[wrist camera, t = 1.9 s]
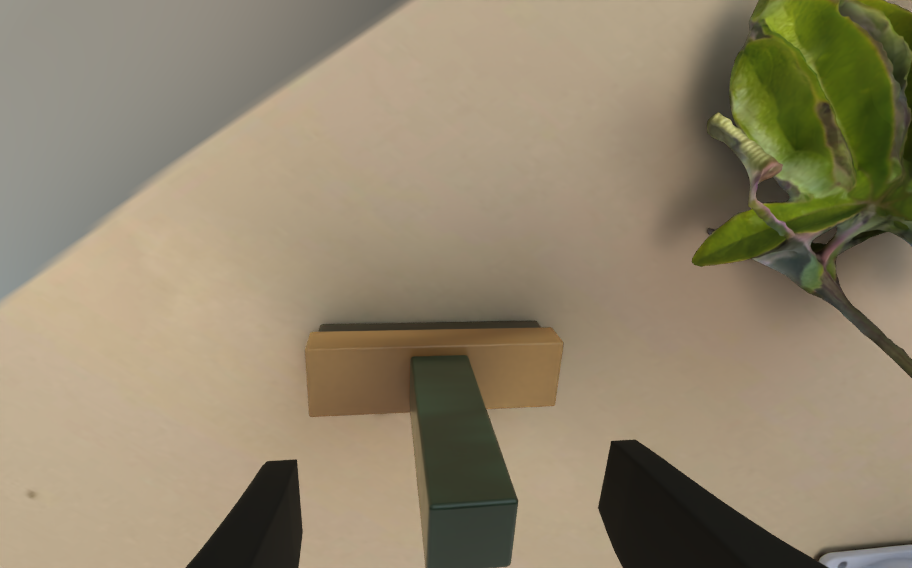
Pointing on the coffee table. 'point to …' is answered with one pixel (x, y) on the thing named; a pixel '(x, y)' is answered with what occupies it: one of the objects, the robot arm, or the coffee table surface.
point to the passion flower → (820, 141)
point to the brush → (443, 415)
